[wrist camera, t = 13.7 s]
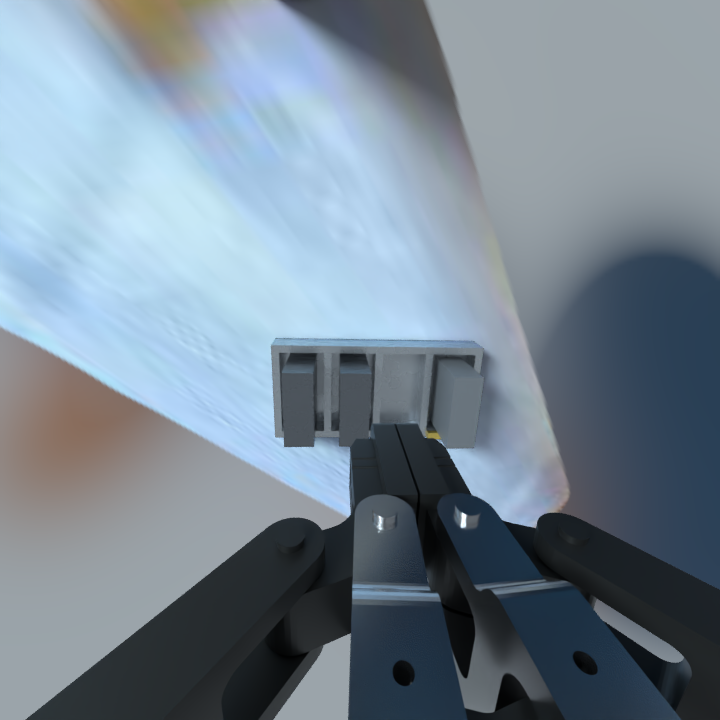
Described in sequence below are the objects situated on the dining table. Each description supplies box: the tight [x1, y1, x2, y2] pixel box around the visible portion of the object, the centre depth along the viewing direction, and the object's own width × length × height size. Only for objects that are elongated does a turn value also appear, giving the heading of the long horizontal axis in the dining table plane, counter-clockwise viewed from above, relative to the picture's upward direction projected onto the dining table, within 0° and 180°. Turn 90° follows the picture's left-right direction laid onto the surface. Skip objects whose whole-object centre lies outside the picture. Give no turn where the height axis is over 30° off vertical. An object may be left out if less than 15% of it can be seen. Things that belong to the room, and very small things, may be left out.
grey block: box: [429, 357, 484, 448], centre depth 39 cm, size 8×3×7 cm, turn 178°
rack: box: [271, 338, 484, 447], centre depth 38 cm, size 23×11×8 cm, turn 88°
